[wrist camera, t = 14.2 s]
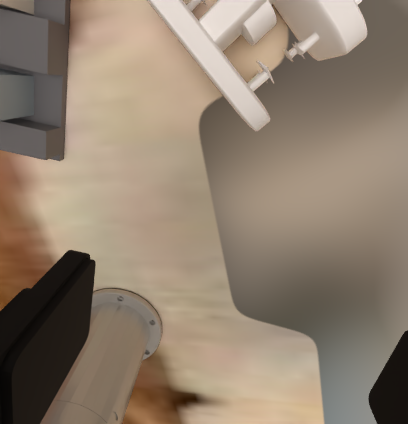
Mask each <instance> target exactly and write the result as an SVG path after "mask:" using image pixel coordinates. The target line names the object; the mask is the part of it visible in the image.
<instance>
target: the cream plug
mask: <svg viewBox="0 0 408 424" xmlns="http://www.w3.org/2000/svg"><path fill="white" fill-rule="evenodd" d="M0 7H1V8H6V9H10V10H14V11H19V12H23V13H28V14H32V15H34V0H0Z"/></svg>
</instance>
